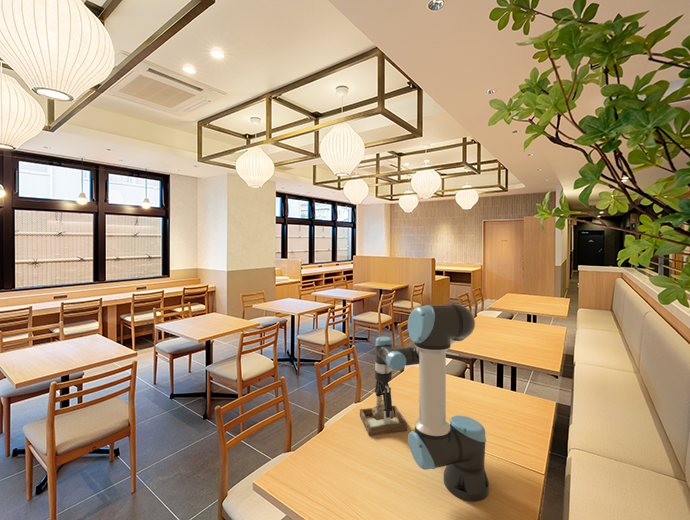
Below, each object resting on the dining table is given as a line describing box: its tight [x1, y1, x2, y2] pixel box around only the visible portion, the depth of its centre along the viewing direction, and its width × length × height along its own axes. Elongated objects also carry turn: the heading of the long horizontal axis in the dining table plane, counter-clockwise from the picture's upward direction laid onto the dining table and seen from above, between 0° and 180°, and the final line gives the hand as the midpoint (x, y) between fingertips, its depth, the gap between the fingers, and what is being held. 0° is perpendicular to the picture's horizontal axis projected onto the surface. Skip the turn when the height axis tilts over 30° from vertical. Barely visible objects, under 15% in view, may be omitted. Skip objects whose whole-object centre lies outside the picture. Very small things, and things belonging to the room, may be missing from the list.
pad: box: [366, 416, 398, 427], centre depth 156 cm, size 11×13×1 cm
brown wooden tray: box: [359, 405, 409, 437], centre depth 156 cm, size 16×18×4 cm
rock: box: [371, 399, 395, 420], centre depth 156 cm, size 12×10×10 cm
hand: (382, 416), depth 155 cm, fingers closed on rock, 11 cm apart
